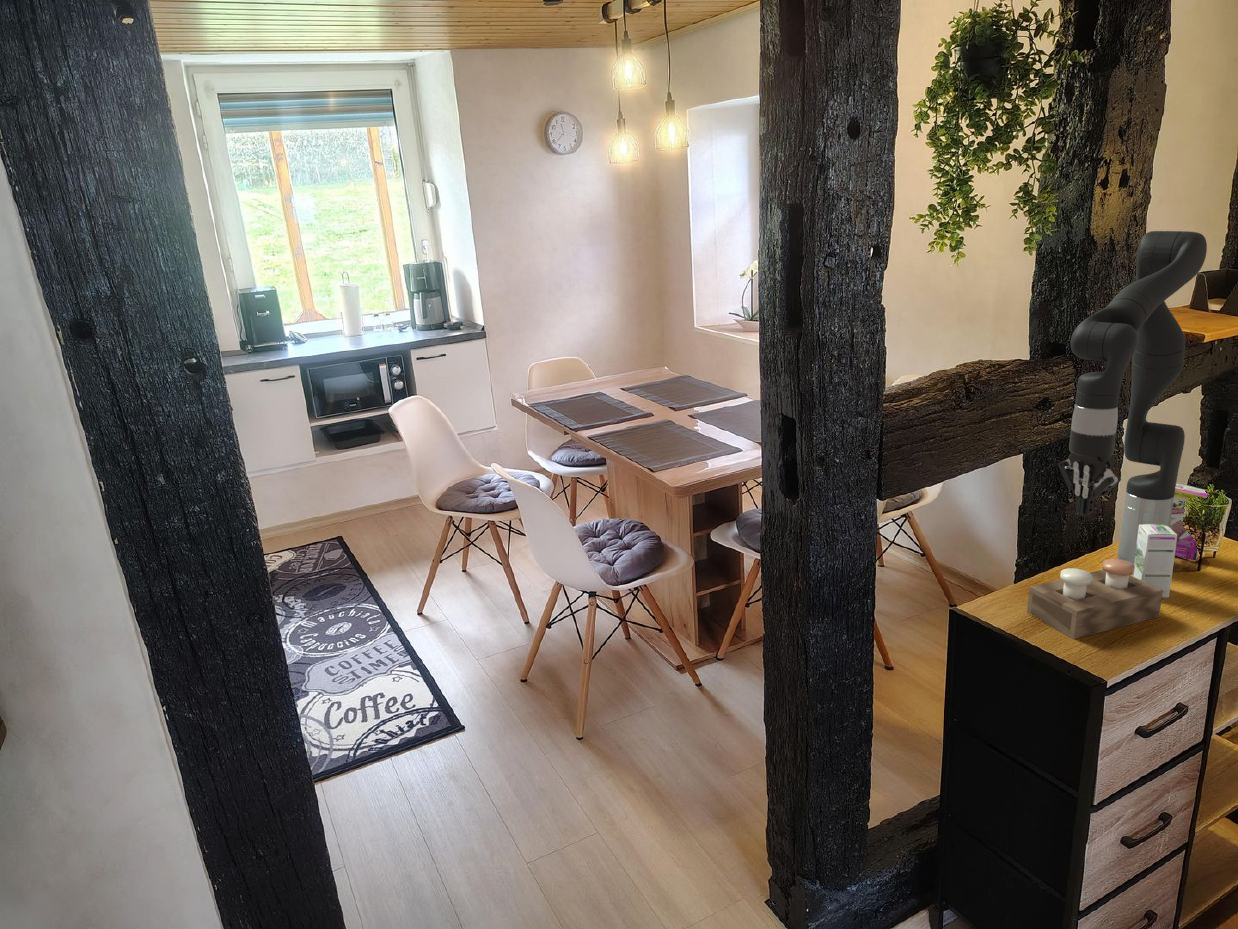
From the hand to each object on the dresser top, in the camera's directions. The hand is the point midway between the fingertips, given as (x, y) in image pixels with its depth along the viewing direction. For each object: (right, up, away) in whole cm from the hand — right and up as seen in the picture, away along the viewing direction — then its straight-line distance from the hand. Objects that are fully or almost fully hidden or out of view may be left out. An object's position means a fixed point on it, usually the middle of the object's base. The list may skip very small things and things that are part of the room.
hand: (1083, 514), depth 167 cm
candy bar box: (+40, -11, +34) cm, 54 cm away
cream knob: (+1, -19, +6) cm, 20 cm away
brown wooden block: (+6, -21, +8) cm, 24 cm away
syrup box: (+23, -18, +17) cm, 34 cm away
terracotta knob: (+11, -17, +9) cm, 23 cm away
